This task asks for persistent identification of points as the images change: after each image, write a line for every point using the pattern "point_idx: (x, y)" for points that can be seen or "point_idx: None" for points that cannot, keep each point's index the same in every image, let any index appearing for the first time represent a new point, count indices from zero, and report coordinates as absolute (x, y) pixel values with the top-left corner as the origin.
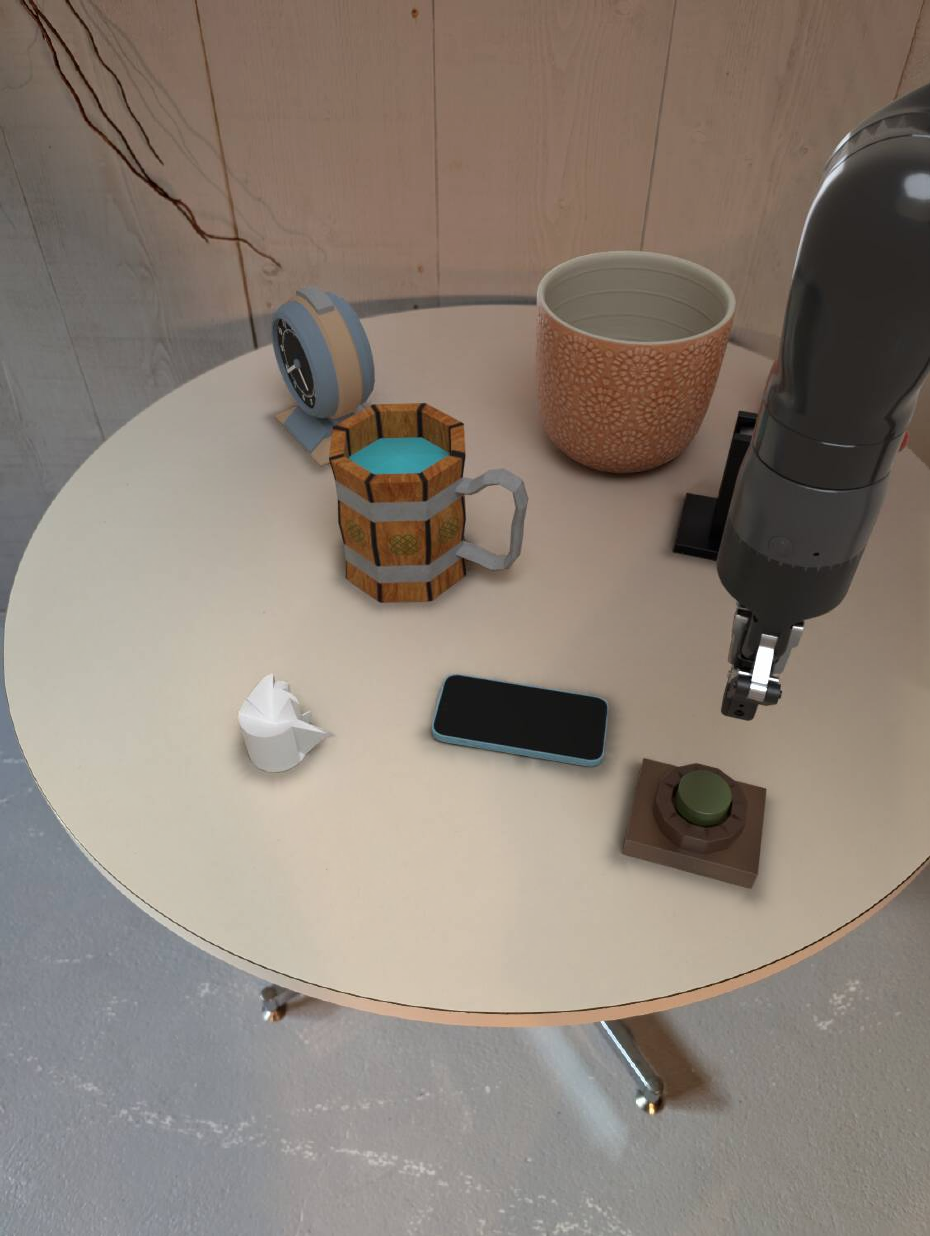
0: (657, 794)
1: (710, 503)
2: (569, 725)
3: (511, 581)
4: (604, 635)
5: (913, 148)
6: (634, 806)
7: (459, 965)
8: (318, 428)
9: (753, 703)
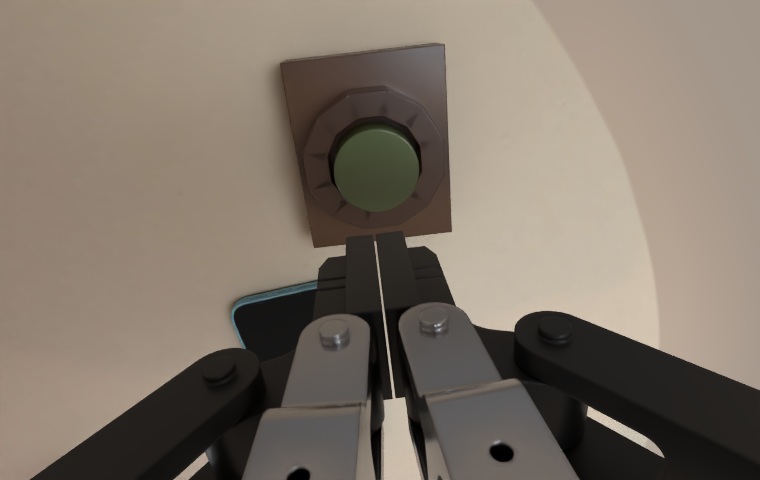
0: (390, 226)
1: None
2: (297, 335)
3: None
4: (114, 339)
5: None
6: None
7: (620, 320)
8: None
9: (449, 291)
